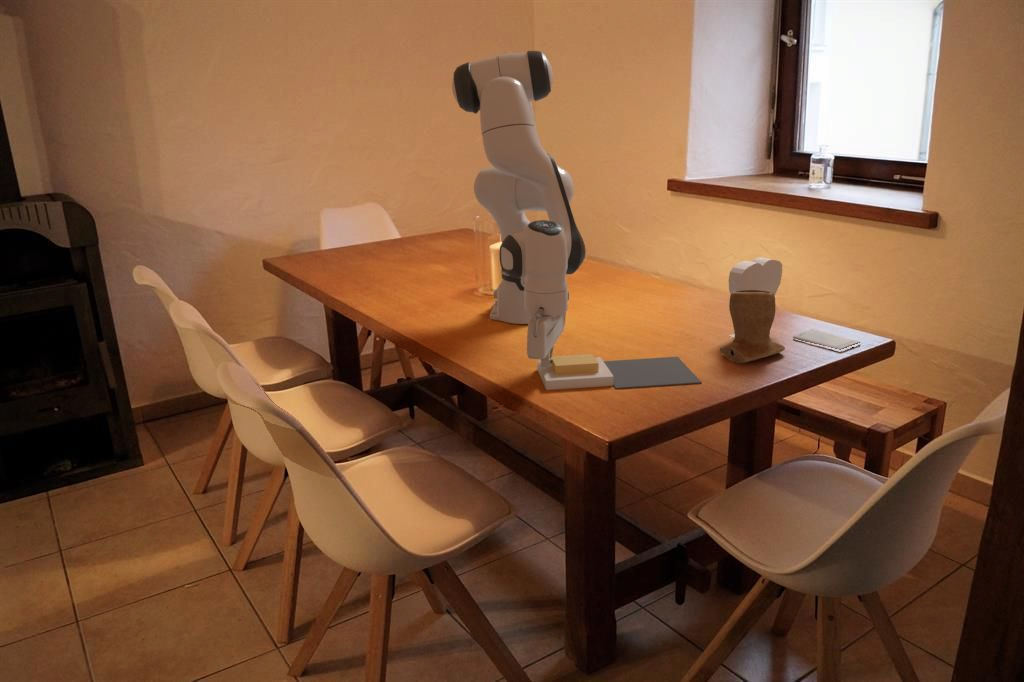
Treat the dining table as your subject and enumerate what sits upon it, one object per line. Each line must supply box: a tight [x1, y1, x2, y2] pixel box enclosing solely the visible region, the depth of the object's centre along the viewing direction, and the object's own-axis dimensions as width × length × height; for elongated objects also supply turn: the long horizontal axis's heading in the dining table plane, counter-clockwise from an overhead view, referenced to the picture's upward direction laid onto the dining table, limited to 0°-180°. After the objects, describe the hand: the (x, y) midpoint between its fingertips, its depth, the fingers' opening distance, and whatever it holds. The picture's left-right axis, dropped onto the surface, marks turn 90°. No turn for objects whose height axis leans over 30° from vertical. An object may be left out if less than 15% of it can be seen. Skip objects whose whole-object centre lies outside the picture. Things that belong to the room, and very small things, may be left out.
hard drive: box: [792, 328, 861, 350], centre depth 195 cm, size 2×8×12 cm
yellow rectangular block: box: [551, 353, 599, 375], centre depth 176 cm, size 9×6×2 cm, turn 97°
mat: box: [603, 356, 703, 390], centre depth 178 cm, size 16×18×1 cm
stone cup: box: [719, 289, 786, 364], centre depth 185 cm, size 15×12×15 cm
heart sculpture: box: [728, 256, 783, 338], centre depth 200 cm, size 16×5×18 cm, turn 127°
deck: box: [536, 356, 614, 391], centre depth 176 cm, size 12×14×2 cm
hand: (546, 365), depth 175 cm, fingers closed
